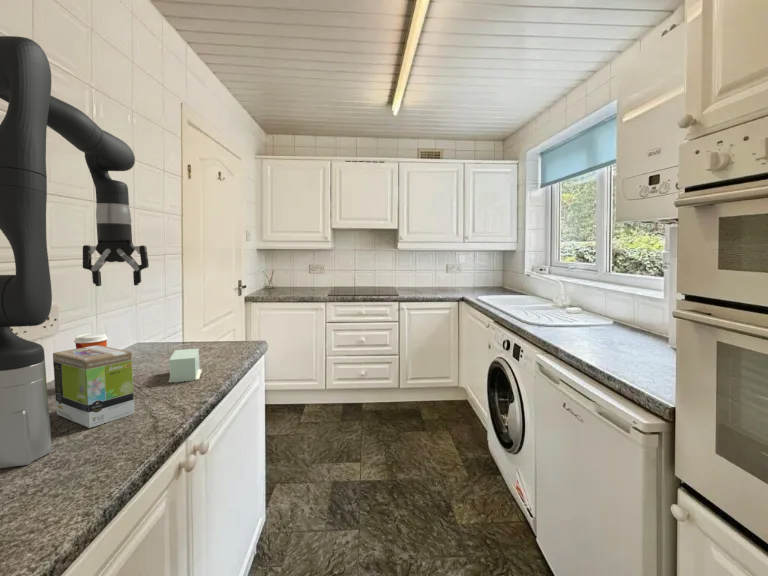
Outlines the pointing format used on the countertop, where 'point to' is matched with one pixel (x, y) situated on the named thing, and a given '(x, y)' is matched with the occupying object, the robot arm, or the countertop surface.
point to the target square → (197, 375)
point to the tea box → (93, 384)
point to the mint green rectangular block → (184, 365)
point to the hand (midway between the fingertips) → (117, 285)
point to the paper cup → (91, 340)
